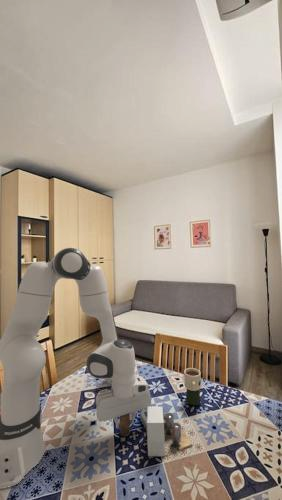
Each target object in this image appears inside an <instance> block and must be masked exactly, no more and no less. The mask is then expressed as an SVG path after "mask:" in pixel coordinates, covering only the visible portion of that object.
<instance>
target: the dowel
mask: <svg viewBox="0 0 282 500" xmlns="http://www.w3.org/2000/svg"><path fill="white" fill-rule="evenodd" d="M130 416H131V413H129V414H126V415H122V416H119V420H120V422H121V427H120V428H119V432H120V436H122V437H128V436H129V435H130V433H131V424H130Z"/></svg>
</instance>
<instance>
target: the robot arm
mask: <svg viewBox="0 0 282 500" xmlns="http://www.w3.org/2000/svg"><path fill="white" fill-rule="evenodd" d="M61 279H66V280H67V279H68V280H69V279H70V280H74V281H75V282H76V284H77V287H78V298H79V306H80V308H81V310H82V312H83V313H84V314H85V315H87V316H88V317H91V318H96V319H97V321H98V322H99V326H100V332H101V337H102V340H101V341H102V342H101V344H100V346H98V347H97V348H96V349H95V350H93V351H92V352H91V353H90V355H89V356H88V357H87V359H86V370H87V372H88V374H89V375H90V376H91V377H93V378H95V379H100V380H101V379H102V380H103V379H107V378H112V384H111V388H110V389H107V390H101V391H100V392H99V393H97V395H96V396H95V405H96V410H95V411H96V419H97V421H98V422H99V423H101V422H104V421H108V420H112V419H113V421H114V423H115V427H116V429H120V427H121V422H120V419H118V418H120V416H122V415H126V414H129V413H130V425H133V424H135V418H136V416H137V412H138V411H139V412H140V411H142V410H145V409H147V407H148V406H151V405H152V395H151V392H150V390H149V384H148V382H147V380H146V379H145V378H144V377H143V376H142V375H141V376H140V375H136V373H135V370H136V355H135V349H134V346H133V344H132V342H131V341H129V340H127V339H123V338H122V339H120V338H119V336H118V329H117V327H116V322H115V316H114V313H113V308H112V306H111V302H110V297H109V296H110V295H109V291H108V290H109V289H108V284H107V283H108V282H107V279H106V275H105V272H104V270H103V268H102V266H100V265H97V264H91V263H90V262H89V260H88V259H87V256H85V254H84V253H83V252H82V251H81V250H79V249H77V248H74V247H66V248H63V249H61V250H60V251H58V252H57V253H56V254H55V255H54V257H52V258H51V260H49V261H48V262H45V261H35V262H32V263H31V264H29V265H28V267H27V268H26V270H25V272H24V274H23V276H22V278H21V281H20V283H19V286H18V290H17V293H16V297H15V301H14V304H13V308H12V312H11V315H10V317H9V320H8V321H7V324H6V326H5V329H4V331H3V334H2V336H1V338H0V363H1V366H2V370H3V381H2V382H3V383H2V389H1V393H0V490H1V488H3V489H5V488H4V487H8V486H13V485H16V484H18V483H19V482H20V481H21V480H22V479H23V480H24V478H25V477H26V476H27V475H28V474H27V472H28V471H30V470H31V469H32V468H33V467H35V466H36V465H37V464H38V465H39V464H40V462H41V461H42V460H41V459H43V458H44V456H45V454H44V453H46V450H45V448H46V447H45V446H46V443H45V441H44V437H43V433H42V423H43V418H42V417H43V415H42V413H43V412H42V407H41V405H42V404H41V403H40V401H41V400H40V397H41V396H40V386H41V378H42V371H43V370H44V368H45V365H46V362H47V357H46V352H45V350H44V346H43V345H42V344H41V343H40V342H39V341H38V334H39V333H40V330H41V328H42V326H43V324H44V323H45V321H46V320H47V318H48V315H49V311H50V307H51V303H52V299H53V295H54V292H55V287H56V284H57V282H58V281H59V280H61ZM134 369H135V370H134ZM46 449H47V448H46ZM43 455H44V456H43ZM42 457H43V458H42ZM40 460H41V461H40ZM39 461H40V462H39ZM38 465H37V466H38ZM37 466H36V467H37ZM36 467H35V468H36ZM32 470H33V469H32ZM32 470H31V471H32ZM31 471H30V472H31ZM26 474H27V475H26ZM25 475H26V476H25ZM24 476H25V477H24ZM12 480H13V481H12ZM23 480H22V481H23ZM22 481H21V482H22ZM21 482H20V483H21ZM20 483H19V484H20ZM19 484H18V485H19Z"/></svg>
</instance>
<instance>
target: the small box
mask: <svg viewBox="0 0 282 500" xmlns="http://www.w3.org/2000/svg"><path fill="white" fill-rule="evenodd" d="M146 409H147V431H146V433H147V435H146V436H147V437H146V438H147V439H146V440H147V456H148V457H165V456H166V447H165V445H166V441H165V439H166V438H165V430H164V417H163V409H164V407H163V406H162V405H161V406H159V405H157V406H153V405H152V406H148V407H147V408H146Z"/></svg>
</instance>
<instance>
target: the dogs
mask: <svg viewBox="0 0 282 500" xmlns="http://www.w3.org/2000/svg"><path fill="white" fill-rule="evenodd" d="M174 417H175V416H174V414H173V413H171V412H166V415H165V423H166V430H165V434H166V436H168V437H170V438H171V440H172V441H171V442H172V443H171V444H172V446H173V448H175V449H178V451H182V450H185V449H188V448H190V447H193V443H192V441H191V440H190V439H189V437H188V436H187V434H186V433H185V432H184V430H183V428H182V427H181V426H182V425H181V424H180V423H179V422H174V421H175V420H174Z"/></svg>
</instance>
